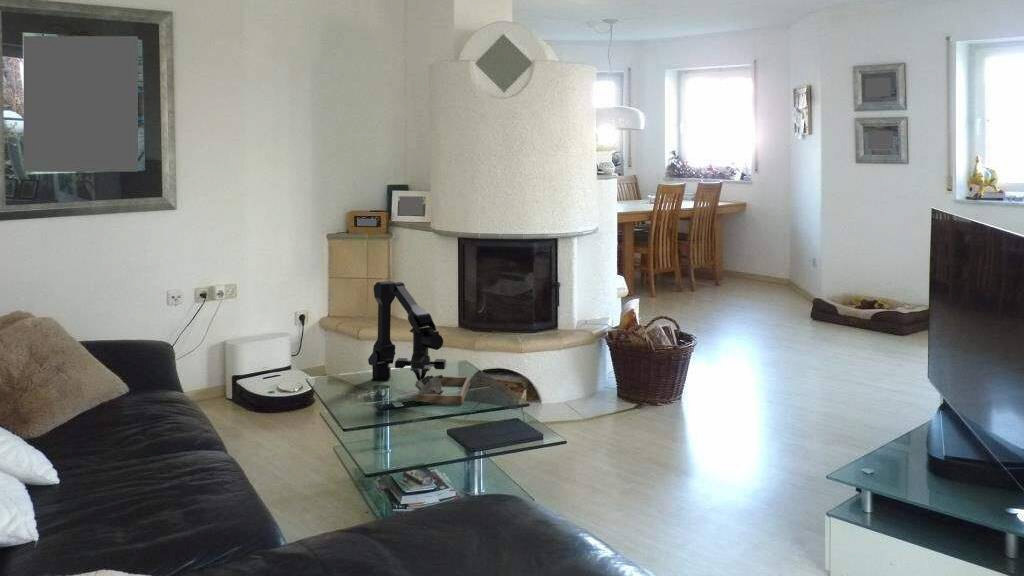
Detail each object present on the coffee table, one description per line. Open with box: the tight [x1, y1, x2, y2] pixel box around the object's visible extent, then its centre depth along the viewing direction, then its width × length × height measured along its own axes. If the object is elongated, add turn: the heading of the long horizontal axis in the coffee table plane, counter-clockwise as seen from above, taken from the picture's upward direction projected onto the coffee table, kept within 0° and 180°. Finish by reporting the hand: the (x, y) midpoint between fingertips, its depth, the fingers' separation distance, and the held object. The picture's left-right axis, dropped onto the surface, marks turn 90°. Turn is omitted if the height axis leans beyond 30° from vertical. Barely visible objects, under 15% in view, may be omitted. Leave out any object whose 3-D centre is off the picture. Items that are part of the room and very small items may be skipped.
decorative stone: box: [414, 374, 444, 395], centre depth 345 cm, size 16×9×10 cm
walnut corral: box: [414, 375, 471, 405], centre depth 350 cm, size 17×28×3 cm, turn 177°
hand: (420, 386), depth 350 cm, fingers closed
